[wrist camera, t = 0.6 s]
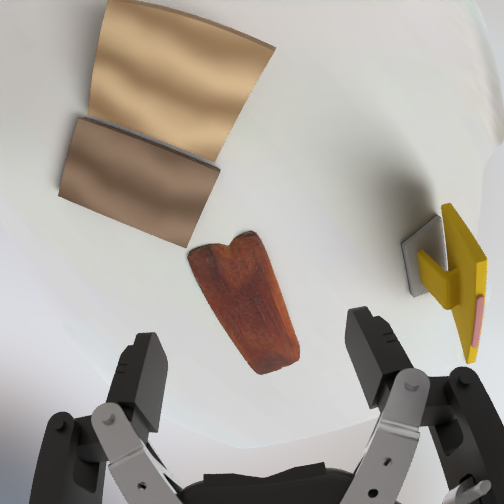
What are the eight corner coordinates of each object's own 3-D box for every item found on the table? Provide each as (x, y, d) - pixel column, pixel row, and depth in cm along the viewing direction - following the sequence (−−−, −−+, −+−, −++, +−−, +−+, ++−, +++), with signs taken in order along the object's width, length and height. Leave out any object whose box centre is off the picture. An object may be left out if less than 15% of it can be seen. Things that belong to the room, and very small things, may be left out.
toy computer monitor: (447, 292, 44) (495, 349, 30) (413, 312, 45) (457, 376, 32) (436, 194, 36) (512, 242, 22) (394, 216, 37) (464, 276, 23)
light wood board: (117, -4, 16) (108, -1, 16) (276, 47, 21) (274, 51, 20) (94, 107, 27) (87, 114, 26) (217, 154, 31) (214, 162, 31)
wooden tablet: (183, 250, 38) (181, 256, 36) (257, 224, 37) (258, 229, 35) (251, 375, 50) (252, 382, 48) (305, 359, 49) (307, 366, 47)
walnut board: (84, 117, 28) (78, 118, 26) (220, 169, 33) (219, 172, 31) (64, 191, 32) (58, 195, 30) (187, 242, 36) (186, 248, 35)
